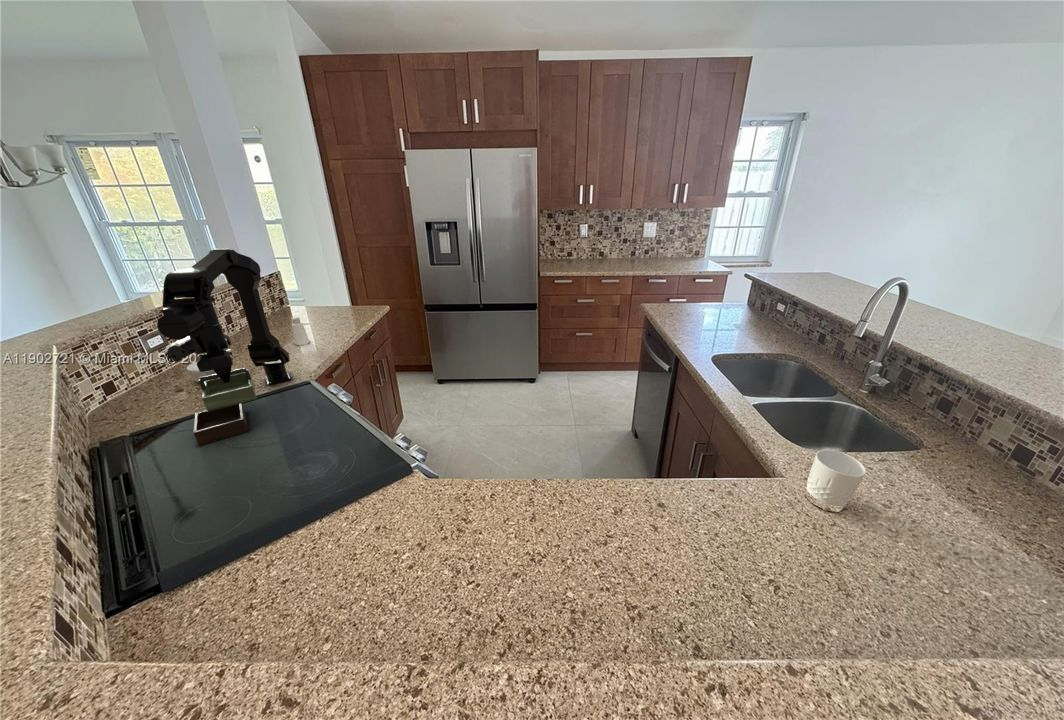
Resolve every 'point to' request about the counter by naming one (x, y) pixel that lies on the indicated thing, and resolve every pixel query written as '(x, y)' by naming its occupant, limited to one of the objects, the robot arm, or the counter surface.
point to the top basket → (227, 390)
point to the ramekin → (195, 371)
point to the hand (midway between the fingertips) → (226, 381)
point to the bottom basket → (220, 424)
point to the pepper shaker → (299, 332)
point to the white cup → (834, 477)
